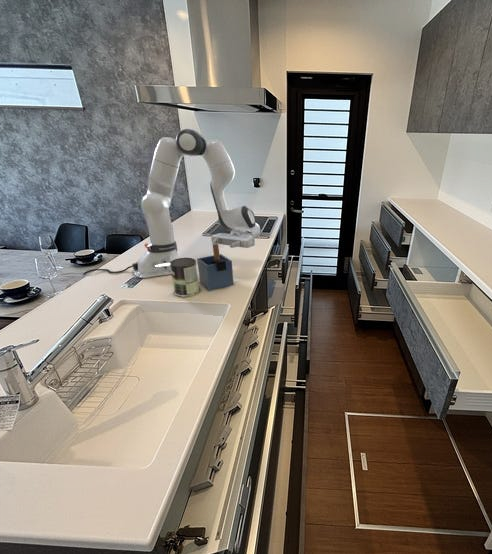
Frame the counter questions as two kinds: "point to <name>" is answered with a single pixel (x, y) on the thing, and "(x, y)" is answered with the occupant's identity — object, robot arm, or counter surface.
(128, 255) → the counter surface
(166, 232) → the robot arm
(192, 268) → the coffee can
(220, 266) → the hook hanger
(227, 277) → the bin
